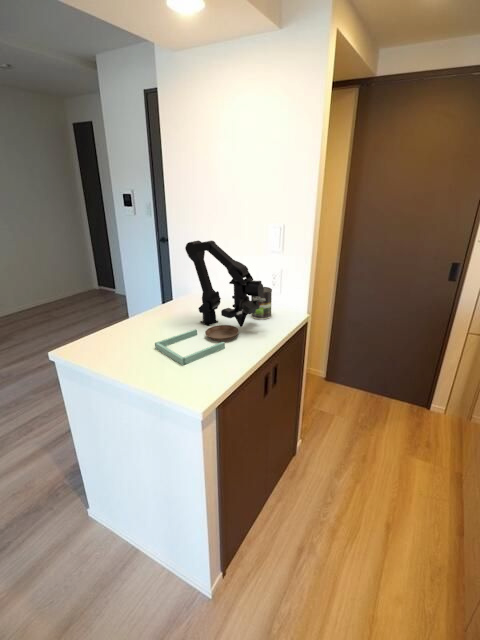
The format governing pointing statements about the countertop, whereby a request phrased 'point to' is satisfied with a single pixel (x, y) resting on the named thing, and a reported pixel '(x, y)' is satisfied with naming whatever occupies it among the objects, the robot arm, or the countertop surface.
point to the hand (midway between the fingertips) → (241, 326)
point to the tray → (191, 357)
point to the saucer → (222, 332)
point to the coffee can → (263, 305)
